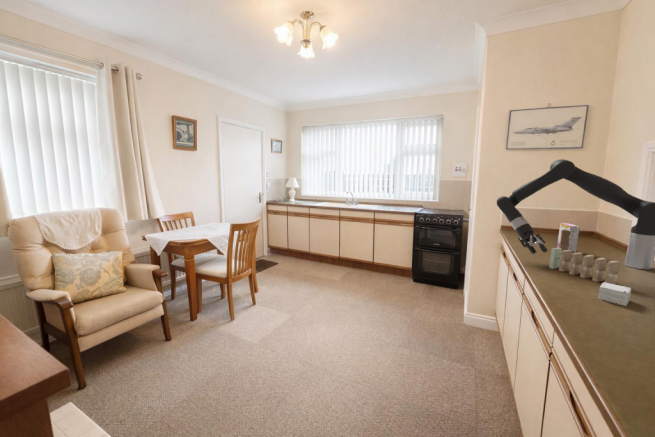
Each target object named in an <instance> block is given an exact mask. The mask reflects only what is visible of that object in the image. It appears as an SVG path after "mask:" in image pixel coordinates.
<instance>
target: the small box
mask: <svg viewBox="0 0 655 437" xmlns="http://www.w3.org/2000/svg"><path fill="white" fill-rule="evenodd" d="M631 292H632V288H631V287H628V286H623V285H619V284H610V283H605V281H604V282H603V281H602V283H601V285H600V286H599V290H598V295H597V296H598V297H597V299H598V300H601V301H604V300H605V301H604V302H608V303H613V304H616V303H617V304H616V305H621V306H624V307H626V306H627V305H628V303H629V302H630V298H631Z"/></svg>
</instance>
